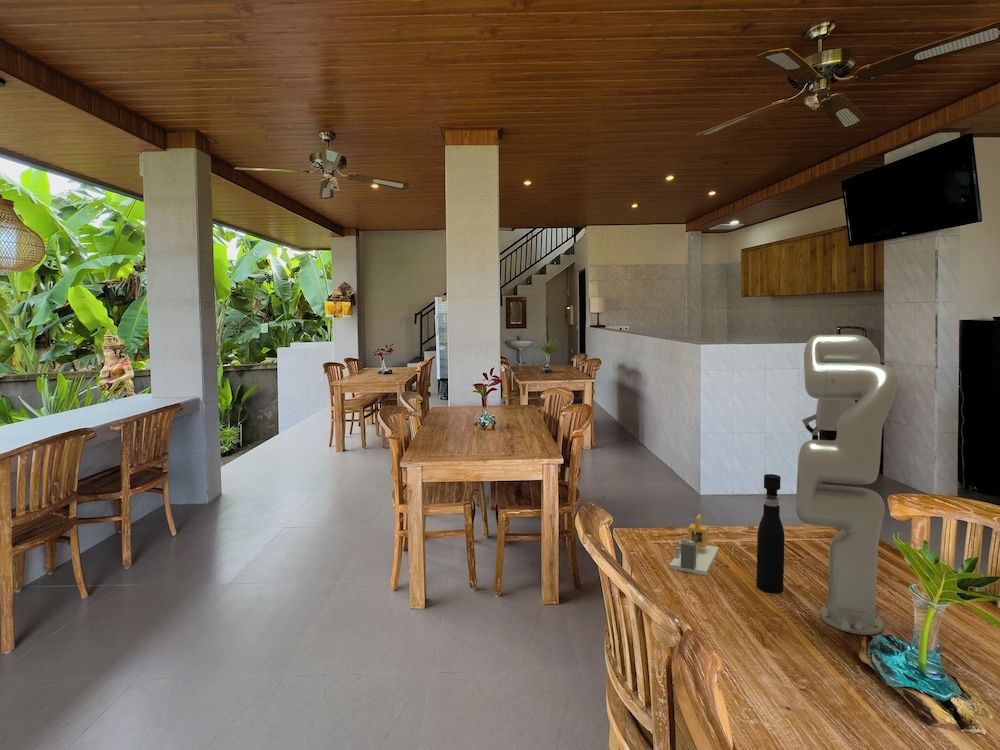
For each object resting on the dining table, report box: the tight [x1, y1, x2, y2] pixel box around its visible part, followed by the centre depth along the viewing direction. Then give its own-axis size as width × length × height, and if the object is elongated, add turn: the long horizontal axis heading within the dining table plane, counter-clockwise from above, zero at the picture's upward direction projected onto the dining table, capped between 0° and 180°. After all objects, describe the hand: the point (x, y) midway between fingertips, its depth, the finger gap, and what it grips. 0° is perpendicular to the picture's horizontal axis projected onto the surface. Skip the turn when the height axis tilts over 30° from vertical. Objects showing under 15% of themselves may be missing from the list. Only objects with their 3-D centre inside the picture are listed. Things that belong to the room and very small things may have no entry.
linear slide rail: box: [669, 532, 720, 577], centre depth 170 cm, size 20×10×8 cm, turn 150°
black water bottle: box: [756, 473, 786, 594], centre depth 150 cm, size 6×6×30 cm
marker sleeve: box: [687, 514, 709, 547], centre depth 174 cm, size 4×5×8 cm
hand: (834, 449), depth 171 cm, fingers open, 9 cm apart
